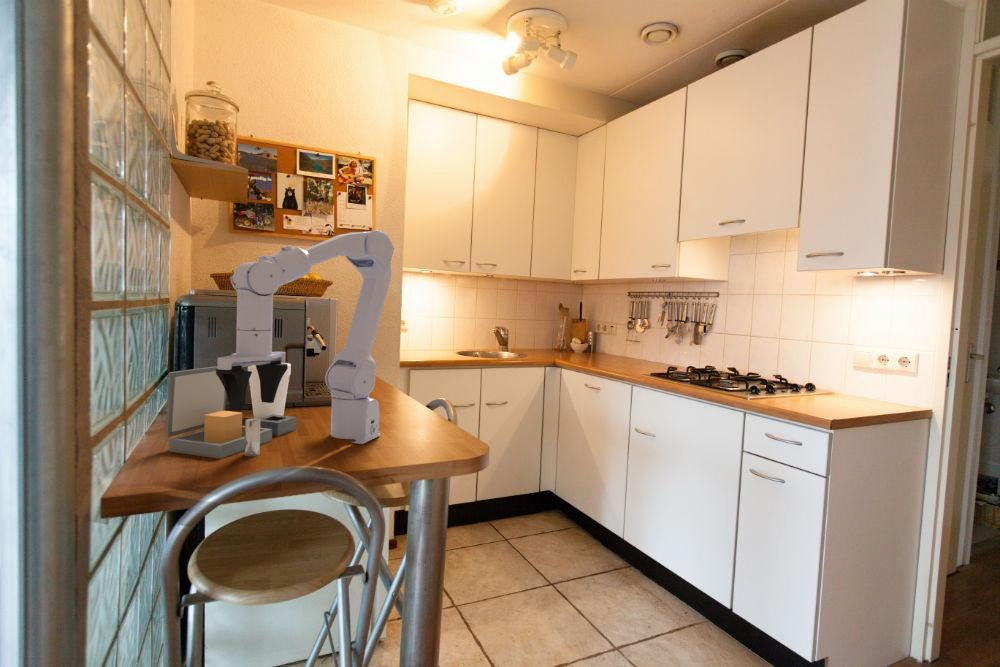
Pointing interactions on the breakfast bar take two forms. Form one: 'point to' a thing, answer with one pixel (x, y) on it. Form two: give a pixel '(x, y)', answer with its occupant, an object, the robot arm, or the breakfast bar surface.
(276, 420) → the grey square socket
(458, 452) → the breakfast bar surface
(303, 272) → the robot arm
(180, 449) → the grey shallow rectangular tray
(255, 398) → the foam cup
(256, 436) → the white upright cylinder
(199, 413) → the lid
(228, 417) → the block
